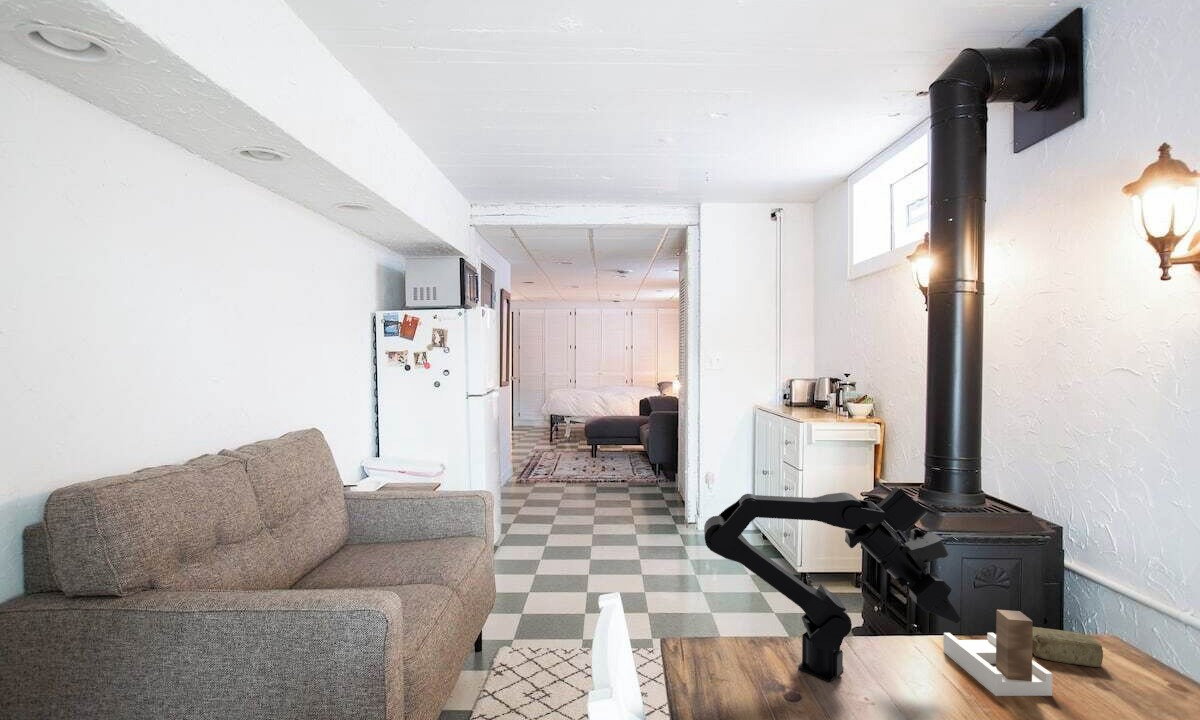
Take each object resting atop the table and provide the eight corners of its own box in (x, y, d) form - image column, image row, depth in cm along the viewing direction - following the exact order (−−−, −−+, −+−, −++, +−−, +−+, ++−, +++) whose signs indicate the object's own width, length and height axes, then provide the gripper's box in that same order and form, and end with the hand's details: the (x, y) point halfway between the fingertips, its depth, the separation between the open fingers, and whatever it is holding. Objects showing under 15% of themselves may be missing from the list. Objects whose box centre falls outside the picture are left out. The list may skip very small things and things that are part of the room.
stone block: (1105, 671, 110) (1105, 645, 110) (1035, 661, 113) (1035, 636, 113) (1090, 656, 115) (1090, 631, 115) (1023, 646, 119) (1024, 623, 119)
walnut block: (1007, 679, 102) (1008, 619, 102) (995, 667, 106) (996, 609, 106) (1031, 681, 101) (1032, 621, 101) (1019, 669, 105) (1019, 611, 105)
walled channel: (995, 695, 101) (995, 673, 101) (943, 651, 116) (943, 632, 116) (1052, 695, 101) (1052, 673, 101) (992, 651, 116) (993, 632, 116)
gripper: (939, 535, 97) (1008, 603, 95) (899, 506, 115) (957, 563, 114) (890, 577, 98) (957, 645, 97) (859, 542, 117) (915, 599, 115)
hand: (947, 609), depth 106 cm, fingers open, 9 cm apart
